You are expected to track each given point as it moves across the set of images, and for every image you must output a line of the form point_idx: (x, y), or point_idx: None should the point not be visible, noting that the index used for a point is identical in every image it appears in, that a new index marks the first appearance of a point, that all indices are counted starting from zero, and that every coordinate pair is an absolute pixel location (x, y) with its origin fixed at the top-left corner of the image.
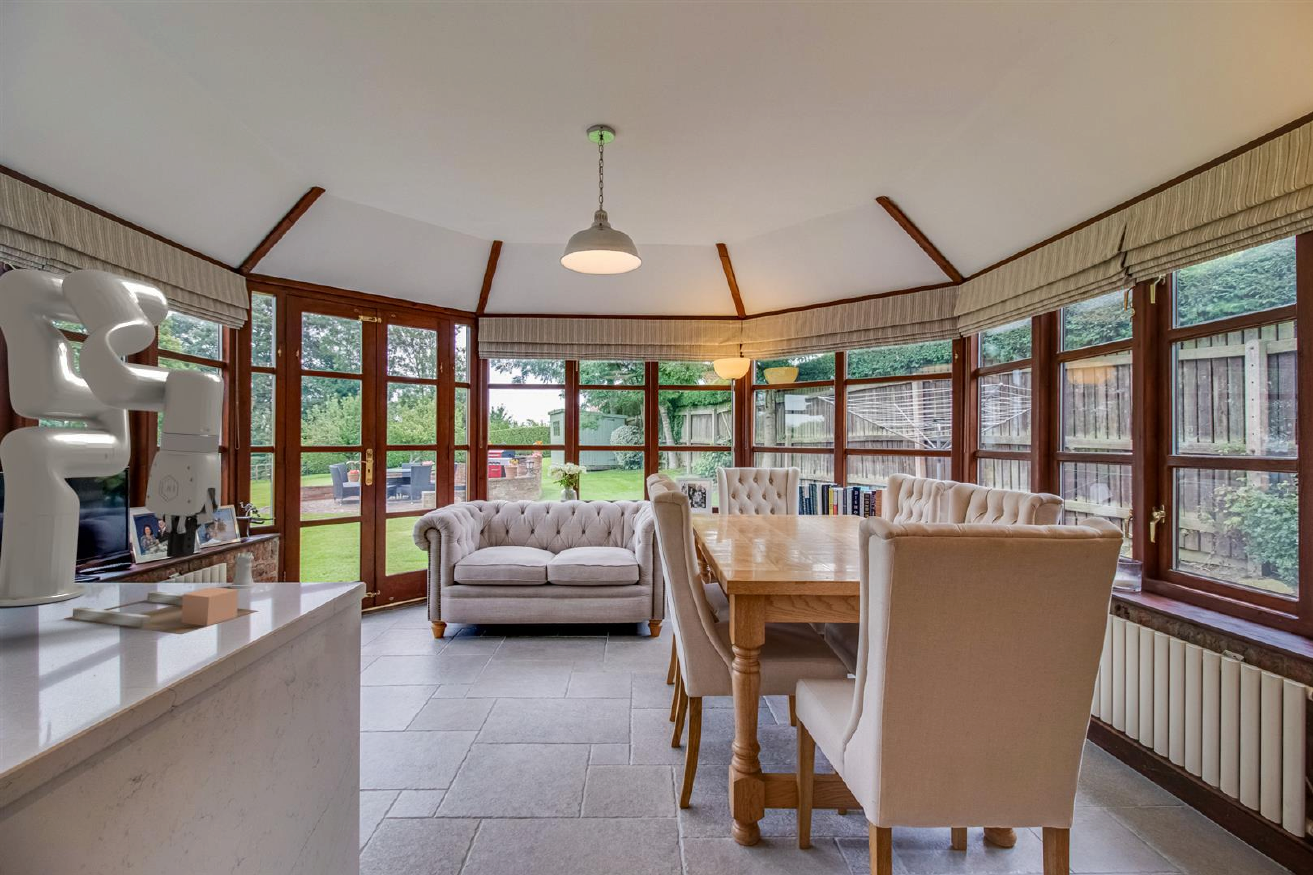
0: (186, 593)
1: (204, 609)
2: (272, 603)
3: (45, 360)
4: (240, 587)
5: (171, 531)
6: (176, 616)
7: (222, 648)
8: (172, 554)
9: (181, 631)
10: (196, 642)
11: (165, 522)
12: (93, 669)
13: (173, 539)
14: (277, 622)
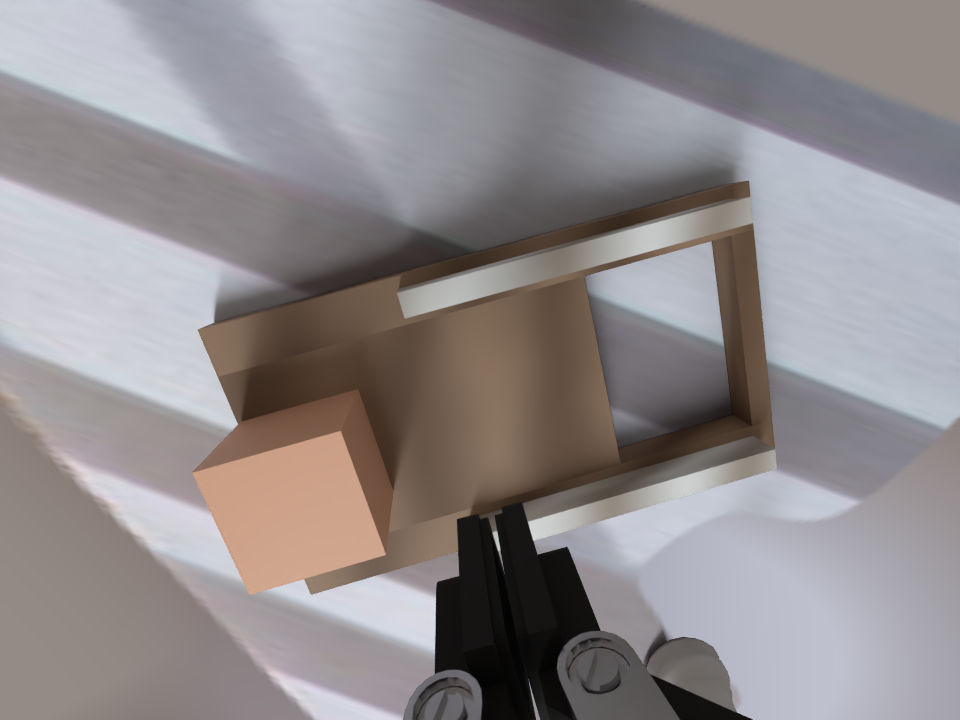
0: (345, 444)
1: (236, 441)
2: None
3: None
4: (667, 674)
5: (571, 656)
6: (458, 411)
7: (54, 378)
8: (473, 522)
9: (232, 342)
10: (196, 359)
11: (672, 709)
12: (124, 41)
13: (482, 599)
14: (236, 594)
